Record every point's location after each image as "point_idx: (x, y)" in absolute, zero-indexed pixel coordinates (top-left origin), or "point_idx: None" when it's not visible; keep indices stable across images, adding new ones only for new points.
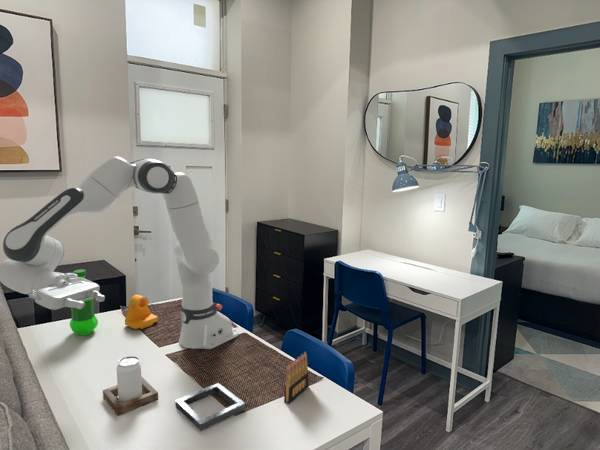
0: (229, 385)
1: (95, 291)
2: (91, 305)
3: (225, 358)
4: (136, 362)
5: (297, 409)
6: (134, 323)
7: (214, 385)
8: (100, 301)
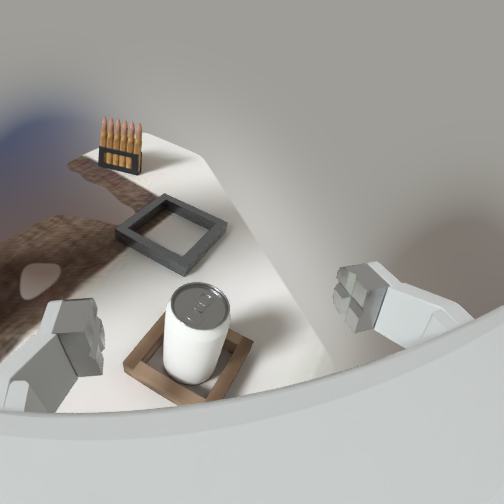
0: (103, 227)
1: (12, 383)
2: None
3: (12, 253)
4: (199, 282)
5: (150, 166)
6: None
7: (125, 230)
8: (103, 336)
